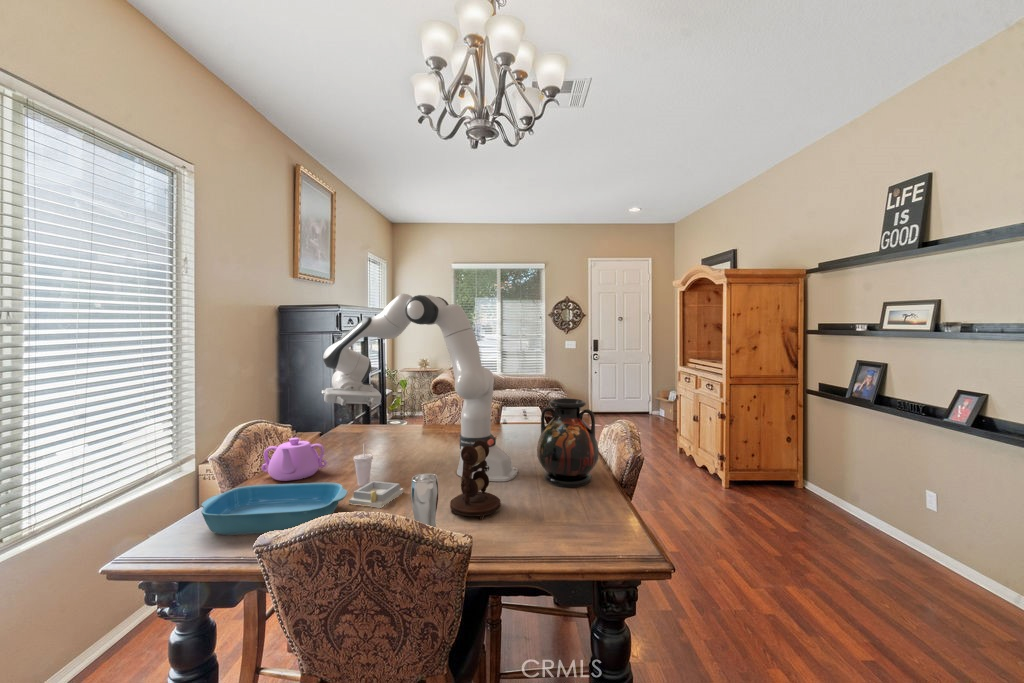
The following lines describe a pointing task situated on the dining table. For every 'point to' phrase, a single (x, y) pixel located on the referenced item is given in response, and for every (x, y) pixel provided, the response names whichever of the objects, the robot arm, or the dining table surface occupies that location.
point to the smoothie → (363, 467)
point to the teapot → (293, 460)
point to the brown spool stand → (475, 484)
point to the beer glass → (425, 498)
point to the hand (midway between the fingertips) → (357, 403)
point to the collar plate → (376, 494)
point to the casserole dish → (270, 507)
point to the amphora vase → (567, 444)
